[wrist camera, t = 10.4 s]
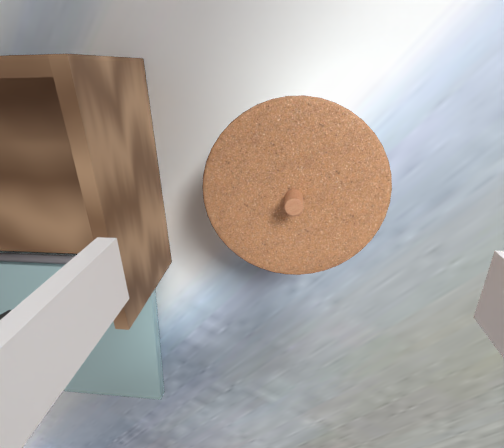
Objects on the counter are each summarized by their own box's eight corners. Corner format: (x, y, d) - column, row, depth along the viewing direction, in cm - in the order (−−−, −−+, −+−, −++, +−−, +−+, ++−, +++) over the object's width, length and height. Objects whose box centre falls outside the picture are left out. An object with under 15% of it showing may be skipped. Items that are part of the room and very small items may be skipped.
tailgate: (-65, 252, 32) (-29, 382, 36) (147, 261, 30) (161, 399, 34) (-55, 248, 33) (-20, 376, 37) (152, 257, 30) (164, 392, 35)
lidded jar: (382, 198, 26) (424, 259, 18) (259, 241, 29) (244, 311, 21) (338, 60, 23) (364, 56, 14) (202, 125, 26) (157, 153, 17)
